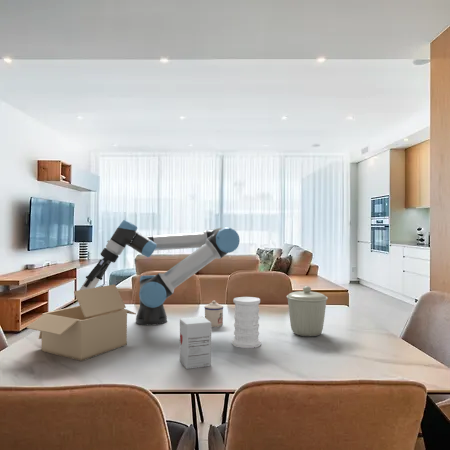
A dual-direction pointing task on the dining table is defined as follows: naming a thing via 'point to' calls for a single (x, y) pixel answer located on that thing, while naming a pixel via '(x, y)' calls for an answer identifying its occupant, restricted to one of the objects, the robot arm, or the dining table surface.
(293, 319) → the canister
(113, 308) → the carton flap
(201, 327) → the supplement box
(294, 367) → the dining table surface
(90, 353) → the carton
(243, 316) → the decorative container
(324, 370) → the dining table surface
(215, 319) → the teacup with lid
